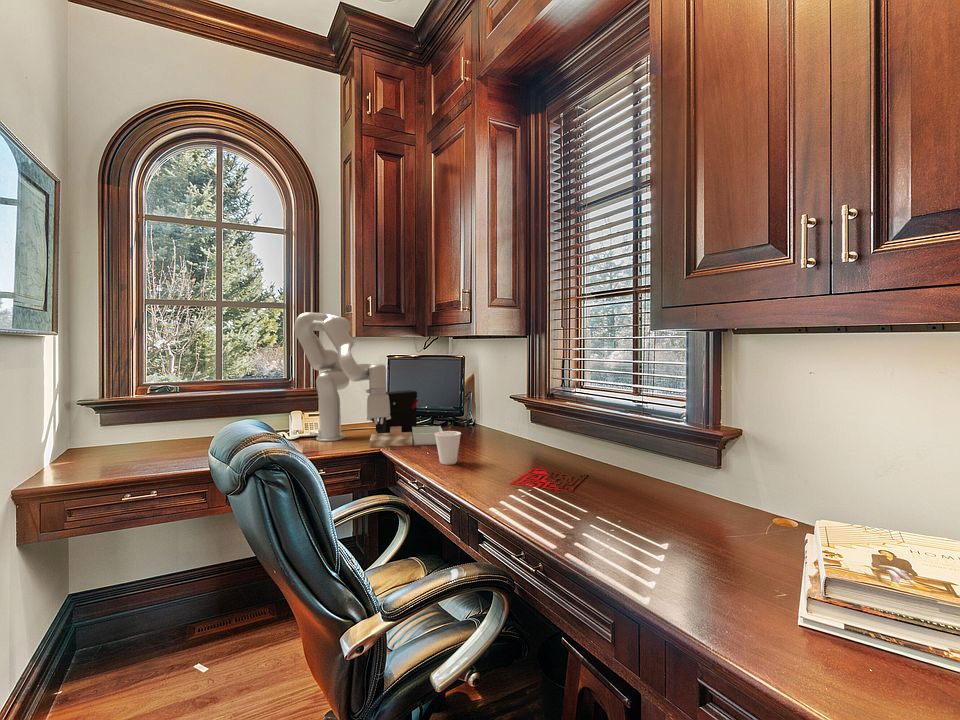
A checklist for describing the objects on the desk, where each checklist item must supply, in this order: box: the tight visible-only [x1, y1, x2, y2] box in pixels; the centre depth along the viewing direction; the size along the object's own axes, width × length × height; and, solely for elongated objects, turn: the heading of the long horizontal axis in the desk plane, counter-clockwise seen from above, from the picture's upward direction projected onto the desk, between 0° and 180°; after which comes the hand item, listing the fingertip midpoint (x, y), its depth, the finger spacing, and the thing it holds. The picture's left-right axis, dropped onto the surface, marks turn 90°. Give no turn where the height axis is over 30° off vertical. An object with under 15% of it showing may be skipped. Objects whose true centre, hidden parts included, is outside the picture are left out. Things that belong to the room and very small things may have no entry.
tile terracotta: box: [390, 426, 402, 435], centre depth 228 cm, size 5×5×3 cm
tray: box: [411, 425, 444, 447], centre depth 227 cm, size 13×17×5 cm
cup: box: [434, 430, 462, 466], centre depth 186 cm, size 10×10×11 cm
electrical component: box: [378, 389, 419, 433], centre depth 248 cm, size 18×10×20 cm, turn 128°
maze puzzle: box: [509, 468, 574, 492], centre depth 163 cm, size 20×20×1 cm
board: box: [369, 432, 414, 448], centre depth 224 cm, size 18×15×3 cm
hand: (379, 432), depth 227 cm, fingers closed
